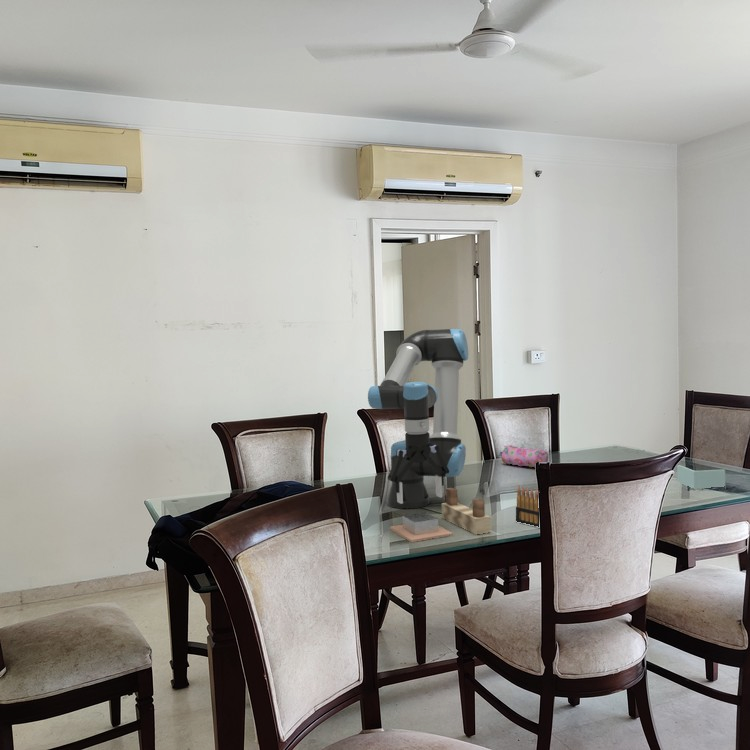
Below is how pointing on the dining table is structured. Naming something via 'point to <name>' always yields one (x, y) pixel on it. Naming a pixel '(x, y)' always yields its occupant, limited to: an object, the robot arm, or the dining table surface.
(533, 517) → the ammunition clip
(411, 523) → the brushed metal block
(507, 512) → the dining table surface
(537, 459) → the pencil case
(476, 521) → the wooden peg stand
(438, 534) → the mat
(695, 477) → the l-shaped corner panel
